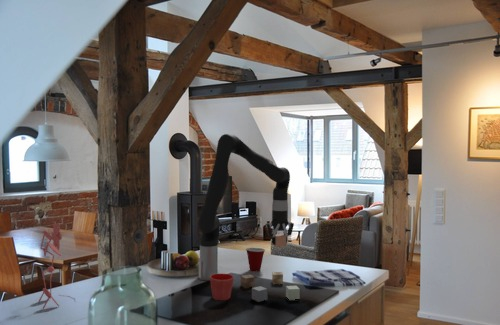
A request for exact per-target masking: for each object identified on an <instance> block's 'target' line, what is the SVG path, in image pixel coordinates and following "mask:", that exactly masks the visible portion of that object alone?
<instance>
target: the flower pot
mask: <svg viewBox="0 0 500 325" xmlns="http://www.w3.org/2000/svg"><path fill="white" fill-rule="evenodd" d="M209 282H210V287H211V294H212V295H211V296H212V299H213V300H214V301H215V300H216V301H228V300H229V299H230V298H231V295H232V289H233V283H234V275H232V274H230V273H218V274H213V275H211V276H210V280H209Z"/></svg>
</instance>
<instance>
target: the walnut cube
mask: <svg viewBox="0 0 500 325" xmlns="http://www.w3.org/2000/svg"><path fill="white" fill-rule="evenodd" d="M255 283H256V280H255V276H254V275H251V274H245V275H244V274H243V275H241V276H240V286H241V287H242V288H244V289H250V288H249V287H252V288H254V287H256V286H255Z"/></svg>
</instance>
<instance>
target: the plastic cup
mask: <svg viewBox="0 0 500 325" xmlns="http://www.w3.org/2000/svg"><path fill="white" fill-rule="evenodd" d="M245 251H246V254H247V261H248V267H249V271H250V272H260V271H261V269H262V265H263V264H262V263H263V259H264V258H263V257H264V255H265V254H264V253H265V251H266V249H265V248H261V247H246V248H245Z"/></svg>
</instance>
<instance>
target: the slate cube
mask: <svg viewBox="0 0 500 325" xmlns="http://www.w3.org/2000/svg"><path fill="white" fill-rule="evenodd" d="M251 300H254V301H255V302H257V303H260V302H263V301H264V300H265V301H268V288H266V287H263V286H261V285H259V286H255V287H252V288H251Z"/></svg>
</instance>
